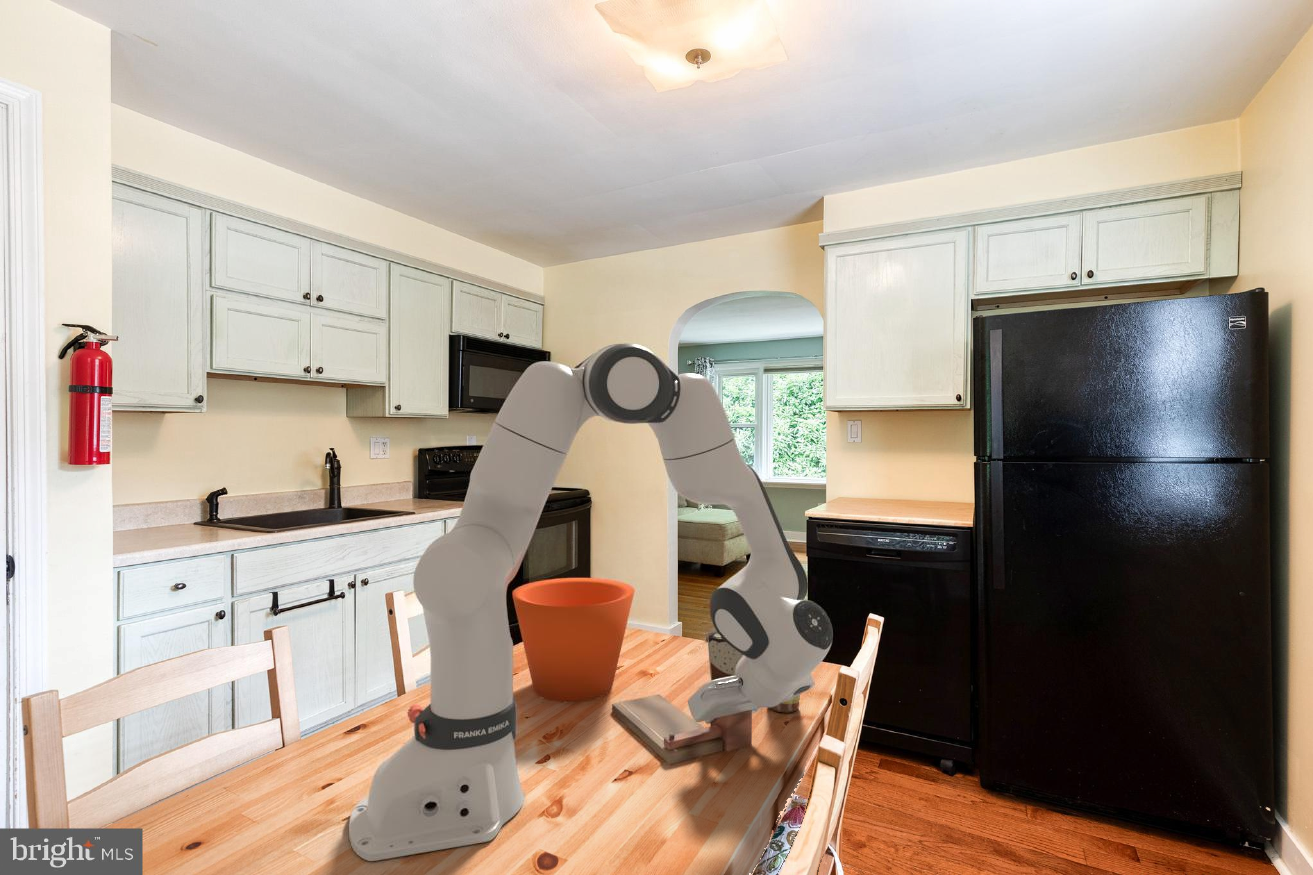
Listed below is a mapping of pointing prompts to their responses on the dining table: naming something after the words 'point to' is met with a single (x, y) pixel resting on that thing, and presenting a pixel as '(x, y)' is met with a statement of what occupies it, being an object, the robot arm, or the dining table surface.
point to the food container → (721, 656)
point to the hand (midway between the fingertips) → (728, 714)
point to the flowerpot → (573, 634)
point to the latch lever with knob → (718, 732)
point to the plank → (663, 727)
